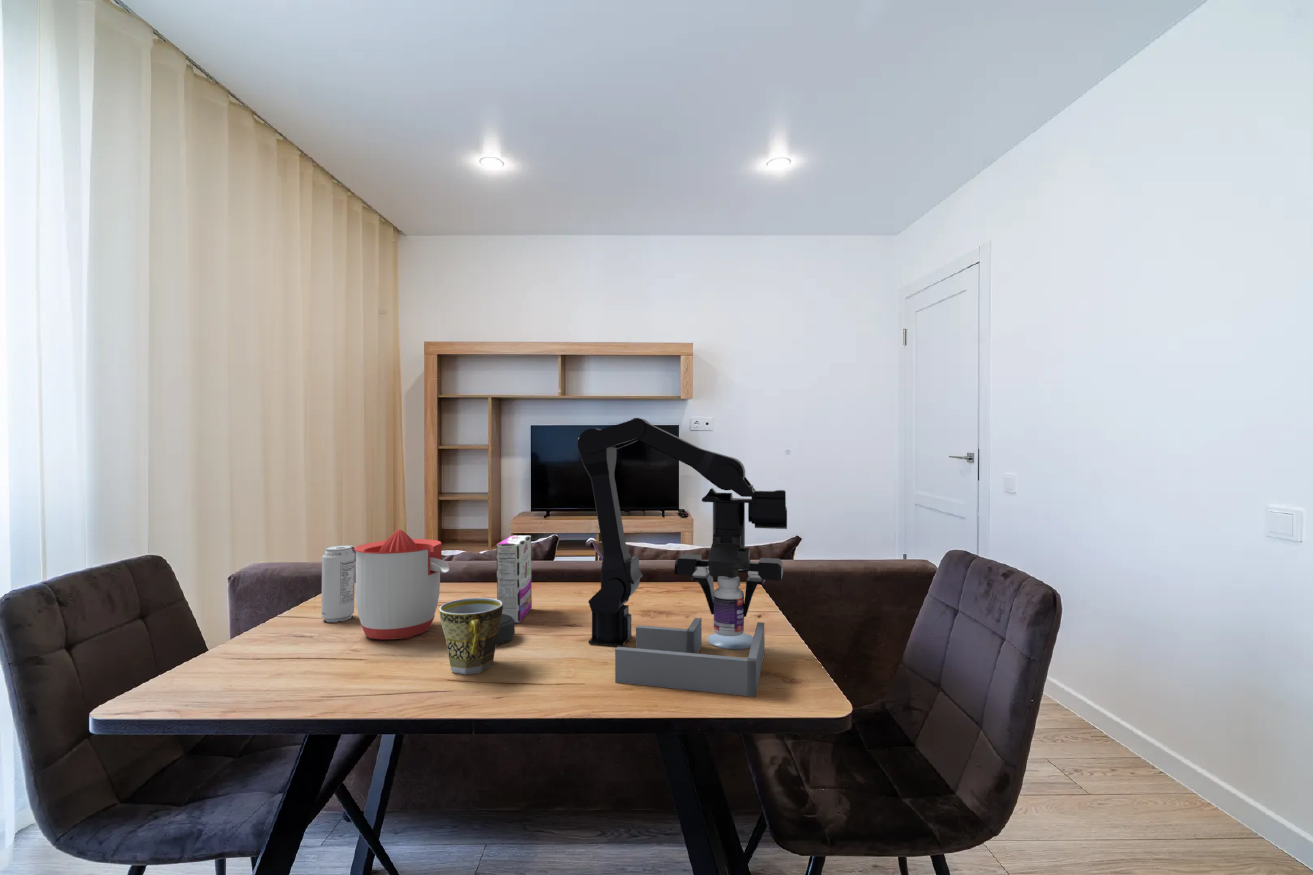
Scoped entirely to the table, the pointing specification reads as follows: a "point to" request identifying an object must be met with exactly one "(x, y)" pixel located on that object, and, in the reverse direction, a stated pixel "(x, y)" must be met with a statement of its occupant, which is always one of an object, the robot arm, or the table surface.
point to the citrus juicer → (398, 585)
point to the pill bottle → (728, 607)
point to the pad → (731, 641)
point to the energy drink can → (338, 583)
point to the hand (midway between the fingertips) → (728, 615)
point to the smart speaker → (506, 629)
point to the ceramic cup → (471, 633)
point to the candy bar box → (514, 576)
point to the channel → (688, 662)
